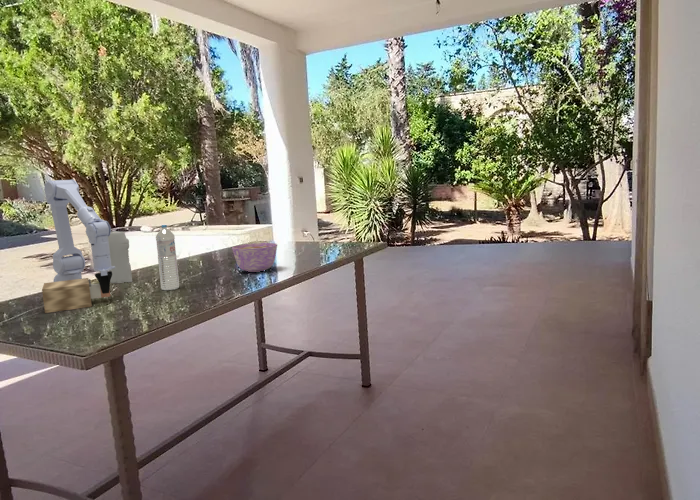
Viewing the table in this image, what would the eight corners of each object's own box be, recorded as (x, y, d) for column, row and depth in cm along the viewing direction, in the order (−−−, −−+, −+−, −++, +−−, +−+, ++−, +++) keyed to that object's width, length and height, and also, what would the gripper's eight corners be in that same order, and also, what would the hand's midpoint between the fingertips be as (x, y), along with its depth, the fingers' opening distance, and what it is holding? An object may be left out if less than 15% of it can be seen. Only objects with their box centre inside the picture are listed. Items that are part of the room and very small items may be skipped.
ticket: (50, 304, 180) (48, 290, 179) (50, 303, 181) (48, 289, 180) (110, 296, 188) (108, 282, 188) (110, 295, 189) (108, 282, 189)
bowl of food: (226, 276, 226) (224, 249, 225) (243, 268, 246) (241, 243, 244) (271, 275, 223) (269, 248, 221) (284, 266, 242) (282, 242, 241)
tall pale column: (135, 280, 226) (130, 230, 223) (130, 282, 222) (125, 231, 219) (112, 281, 227) (106, 231, 224) (107, 283, 223) (101, 232, 220)
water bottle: (169, 291, 199) (162, 226, 196) (157, 290, 203) (150, 226, 200) (183, 287, 205) (177, 224, 202) (171, 286, 209) (165, 224, 205)
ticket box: (45, 313, 174) (41, 289, 173) (47, 305, 186) (44, 283, 185) (93, 306, 180) (90, 283, 179) (92, 298, 193) (90, 277, 192)
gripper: (114, 256, 182) (119, 294, 183) (112, 252, 194) (116, 287, 196) (92, 258, 178) (97, 297, 180) (91, 254, 191) (95, 290, 193)
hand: (105, 292), depth 188 cm, fingers closed on ticket
